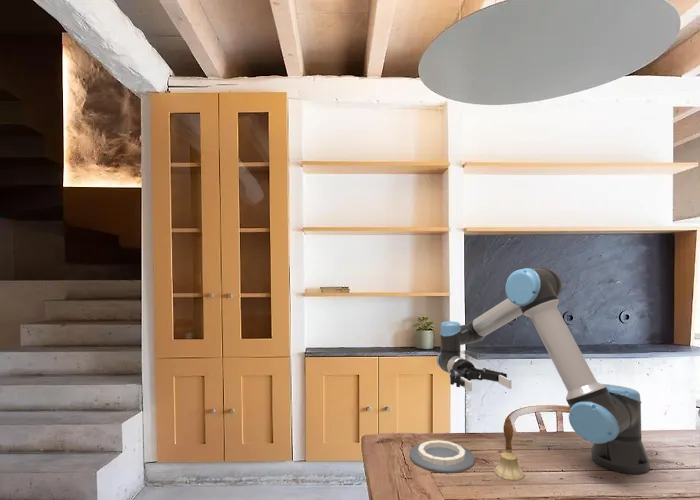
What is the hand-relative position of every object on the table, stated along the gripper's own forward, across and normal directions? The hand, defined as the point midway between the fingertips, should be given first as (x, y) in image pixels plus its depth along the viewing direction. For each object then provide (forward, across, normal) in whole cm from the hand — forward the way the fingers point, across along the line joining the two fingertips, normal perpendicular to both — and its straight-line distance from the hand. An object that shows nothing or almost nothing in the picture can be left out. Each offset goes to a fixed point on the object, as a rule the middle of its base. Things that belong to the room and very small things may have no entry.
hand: (490, 385), depth 137 cm
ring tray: (-4, +15, -23) cm, 28 cm away
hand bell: (+10, 0, -23) cm, 25 cm away
